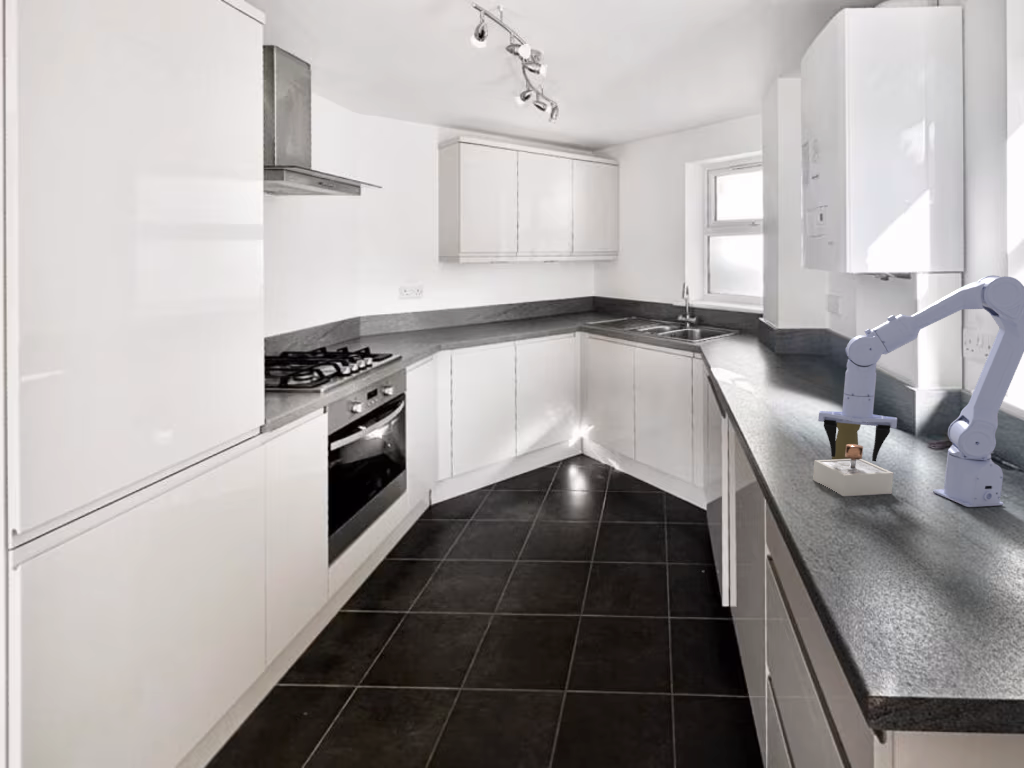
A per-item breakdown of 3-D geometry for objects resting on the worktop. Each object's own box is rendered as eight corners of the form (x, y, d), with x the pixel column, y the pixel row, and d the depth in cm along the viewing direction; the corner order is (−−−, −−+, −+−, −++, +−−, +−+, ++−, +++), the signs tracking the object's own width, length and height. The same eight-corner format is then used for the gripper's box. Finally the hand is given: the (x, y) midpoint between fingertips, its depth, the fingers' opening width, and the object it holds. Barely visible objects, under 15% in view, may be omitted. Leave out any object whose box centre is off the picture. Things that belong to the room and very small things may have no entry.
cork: (835, 456, 170) (838, 412, 168) (862, 461, 167) (866, 416, 165) (828, 462, 166) (831, 417, 164) (855, 467, 162) (859, 420, 160)
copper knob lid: (887, 474, 144) (889, 451, 143) (845, 477, 142) (847, 453, 141) (858, 462, 153) (860, 439, 152) (819, 464, 151) (821, 441, 150)
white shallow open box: (891, 493, 144) (893, 472, 143) (843, 496, 142) (844, 475, 141) (852, 474, 156) (854, 455, 155) (807, 477, 155) (809, 457, 154)
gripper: (819, 394, 144) (814, 458, 147) (899, 400, 138) (893, 467, 140) (821, 388, 151) (816, 450, 153) (898, 394, 144) (892, 458, 147)
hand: (853, 457), depth 147 cm, fingers open, 7 cm apart
